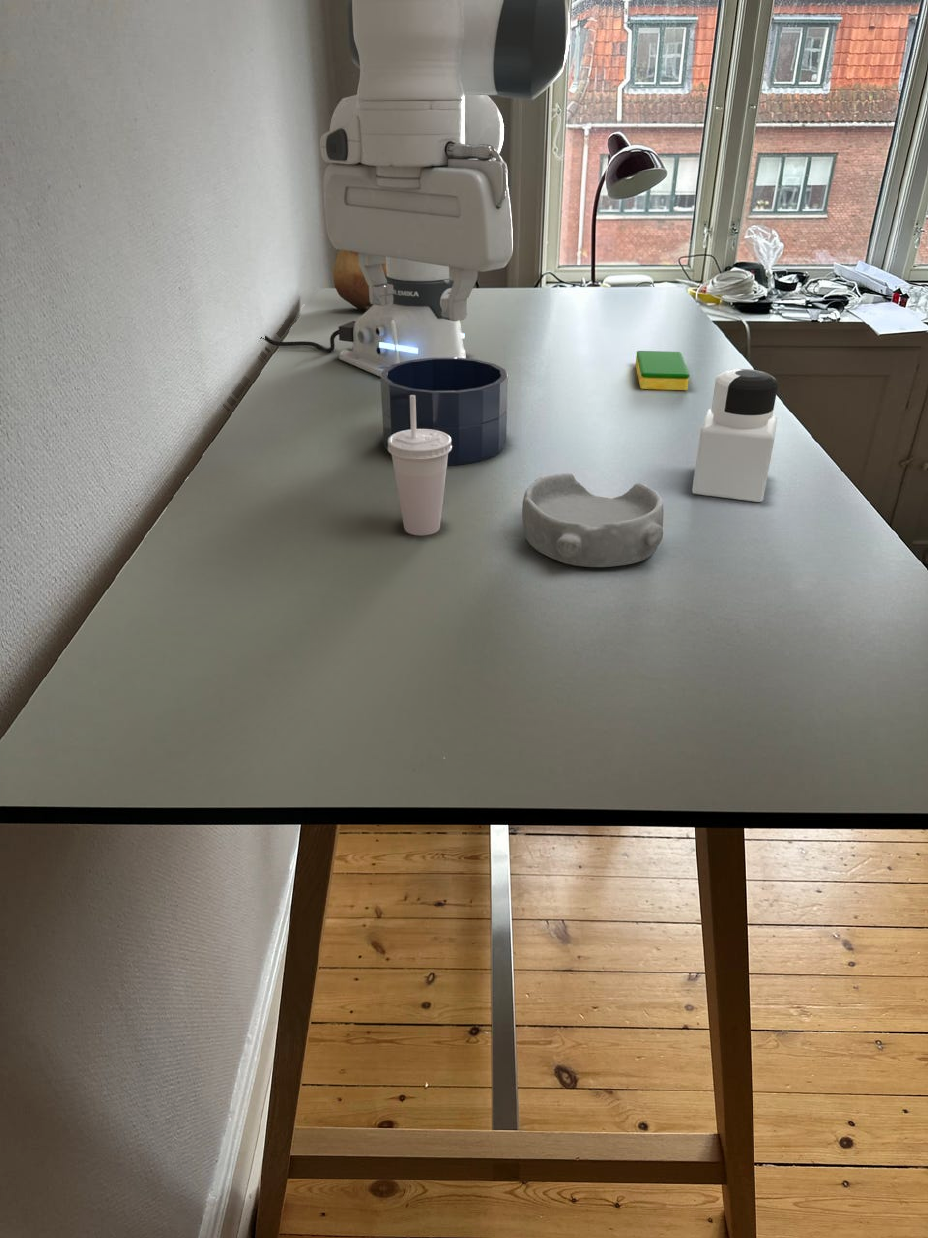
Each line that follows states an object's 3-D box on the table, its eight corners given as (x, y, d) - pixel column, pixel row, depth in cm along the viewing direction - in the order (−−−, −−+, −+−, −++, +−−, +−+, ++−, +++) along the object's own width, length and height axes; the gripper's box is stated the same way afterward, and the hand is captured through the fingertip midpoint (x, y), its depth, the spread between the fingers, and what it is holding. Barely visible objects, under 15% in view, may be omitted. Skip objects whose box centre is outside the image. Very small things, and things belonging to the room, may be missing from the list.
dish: (519, 512, 96) (521, 469, 93) (648, 514, 95) (653, 470, 93) (523, 576, 83) (524, 527, 81) (671, 578, 83) (677, 529, 80)
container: (765, 478, 104) (786, 367, 97) (762, 503, 98) (784, 387, 91) (698, 470, 106) (714, 361, 100) (691, 494, 100) (707, 379, 93)
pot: (359, 444, 114) (354, 374, 109) (443, 416, 124) (442, 350, 119) (446, 475, 105) (445, 400, 100) (530, 442, 115) (532, 372, 110)
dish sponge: (679, 366, 146) (681, 351, 145) (687, 390, 134) (689, 374, 133) (635, 364, 147) (636, 350, 145) (640, 389, 135) (641, 373, 134)
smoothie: (390, 516, 95) (384, 386, 88) (450, 514, 96) (449, 385, 88) (391, 542, 90) (385, 406, 82) (454, 539, 90) (453, 404, 83)
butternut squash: (323, 308, 184) (312, 174, 171) (374, 299, 191) (368, 170, 178) (364, 319, 175) (356, 178, 162) (416, 309, 183) (412, 174, 170)
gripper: (532, 143, 70) (526, 323, 77) (360, 136, 82) (369, 292, 89) (478, 146, 66) (477, 335, 73) (306, 138, 78) (320, 301, 85)
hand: (416, 311), depth 81 cm, fingers open, 8 cm apart
